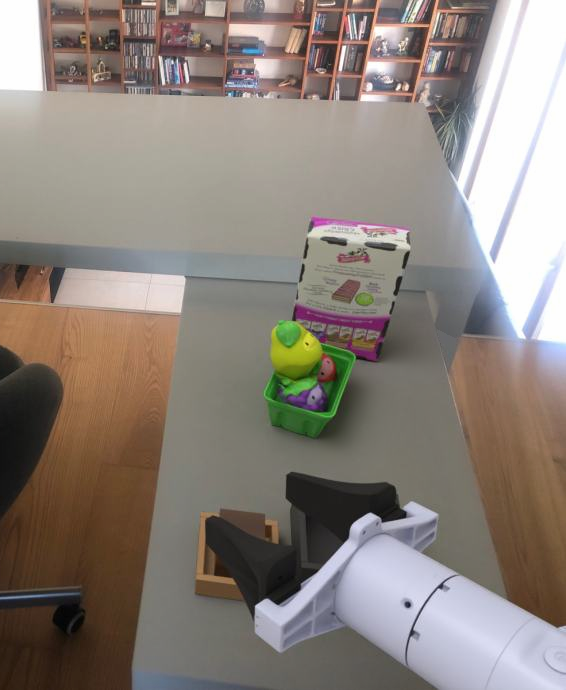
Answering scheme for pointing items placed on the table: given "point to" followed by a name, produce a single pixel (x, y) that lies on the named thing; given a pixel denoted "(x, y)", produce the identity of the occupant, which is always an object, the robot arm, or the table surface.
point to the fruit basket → (305, 379)
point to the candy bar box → (350, 283)
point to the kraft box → (205, 564)
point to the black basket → (312, 543)
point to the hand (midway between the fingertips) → (250, 506)
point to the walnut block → (245, 522)
